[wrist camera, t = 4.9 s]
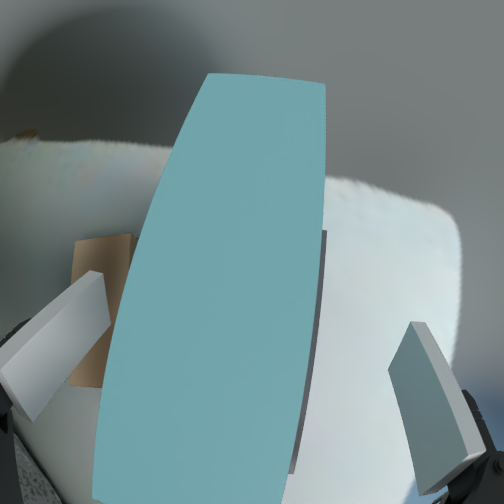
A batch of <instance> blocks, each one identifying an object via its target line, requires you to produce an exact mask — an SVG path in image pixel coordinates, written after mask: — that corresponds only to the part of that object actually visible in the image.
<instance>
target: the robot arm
mask: <svg viewBox="0 0 504 504" xmlns="http://www.w3.org/2000/svg"><path fill="white" fill-rule="evenodd" d="M110 325H111V321H110V315H109V309H108V303H107V297H106V290H105V283H104V276H103V273H99V272H95V271H91V270H90V271H88V272H87V273H86V274H85V275H83V276H82V277H81V278H80V279H78V280H77V281H76V282H75V283H73V284H72V285H71V286H70V287H68V288H67V289H66V290H65V291H64V292H62V293H61V294H60V295H59V296H58V297H56V298H55V299H54V300H53V301H52V302H50V303H49V304H48V305H47V306H46V307H45V308H43V309H42V310H41V311H40V312H39V313H38V314H37V315H35V316H34V317H33V318H30V319H28V320H26V321H24V322H22V323H20V324H19V325H18V326H16V327H15V328H14V329H13V330H12V332H10V333H9V334H8V335H7V336H6V338H3V339H2V340H1V341H0V504H24V502H23V498H22V493H21V488H20V482H19V477H18V470H17V463H16V455H15V446H14V434H13V415H12V411H11V410H10V408H11V406H12V405H14V406H15V408H16V410H17V411H18V413H19V414H20V415H21V416H23V417H24V418H26V419H27V420H29V421H31V422H32V423H34V422H35V420H36V419H37V417H38V416H39V415H40V413H41V412H42V411H43V409H44V408H45V407H46V405H47V404H48V403H49V401H50V400H51V399H52V397H53V396H54V395H55V393H56V392H57V391H58V389H59V388H60V387H61V385H62V384H63V383H64V382H65V380H66V379H67V378H68V376H69V375H70V374H71V373H72V371H73V370H74V369H75V368H76V366H77V365H78V364H79V363H80V361H81V360H82V359H83V358H84V356H85V355H86V354H87V353H88V351H89V350H90V349H91V348H92V347H93V345H94V344H95V343H96V342H97V340H98V339H99V338H100V337H101V336H102V334H103V333H104V332H105V331H106V330H107V329H108V327H109V326H110ZM388 371H389V375H390V378H391V381H392V385H393V388H394V391H395V395H396V398H397V402H398V405H399V409H400V413H401V416H402V420H403V424H404V428H405V432H406V436H407V440H408V444H409V448H410V453H411V457H412V462H413V467H414V471H415V476H416V481H417V486H418V492H419V496H422V495H427V494H431V493H436V492H438V491H439V490H440V489H442V488H443V487H445V486H446V485H447V486H448V491H447V492H446V493H444V494H443V495H442V496H440V497H439V498H437V499H436V500H435V501H434V502H433V503H432V504H436V503H438V502H439V501H440V503H439V504H504V452H502V451H497V450H496V449H495V446H494V444H493V441H492V439H491V436H490V434H489V431H488V429H487V427H486V424H485V422H484V420H482V415H481V413H480V412H479V411H478V410H479V409H478V406H477V404H476V402H475V400H474V398H473V397H472V396H471V395H470V394H469V393H468V392H467V391H466V390H461V389H460V387H459V385H458V383H457V381H456V379H455V377H454V375H453V373H452V371H451V369H450V367H449V365H448V363H447V361H446V359H445V357H444V356H443V354H442V352H441V350H440V348H439V346H438V344H437V343H436V341H435V339H434V337H433V335H432V334H431V332H430V330H429V328H428V327H427V325H426V323H425V322H413V321H410V324H409V326H408V328H407V330H406V333H405V335H404V337H403V339H402V342H401V344H400V346H399V348H398V350H397V352H396V354H395V356H394V358H393V360H392V362H391V364H390V366H389V368H388Z"/></svg>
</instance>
